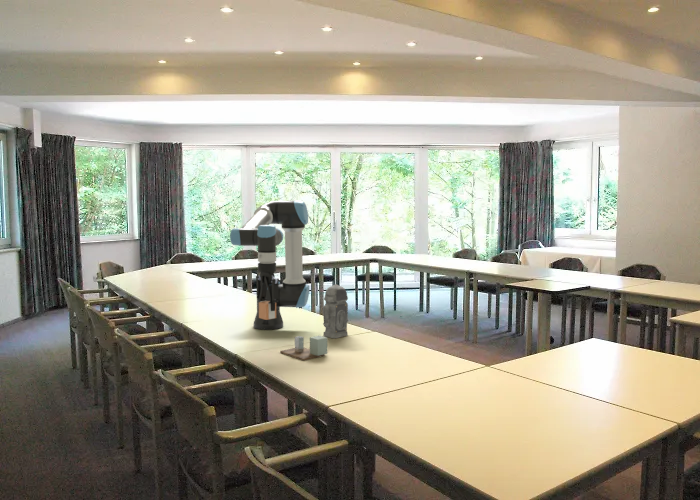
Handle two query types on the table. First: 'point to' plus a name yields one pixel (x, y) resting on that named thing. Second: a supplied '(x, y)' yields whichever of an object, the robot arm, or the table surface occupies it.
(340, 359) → the table surface
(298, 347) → the post
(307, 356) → the stand
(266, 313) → the orange block
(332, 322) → the figurine
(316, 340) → the pale blue-grey block
